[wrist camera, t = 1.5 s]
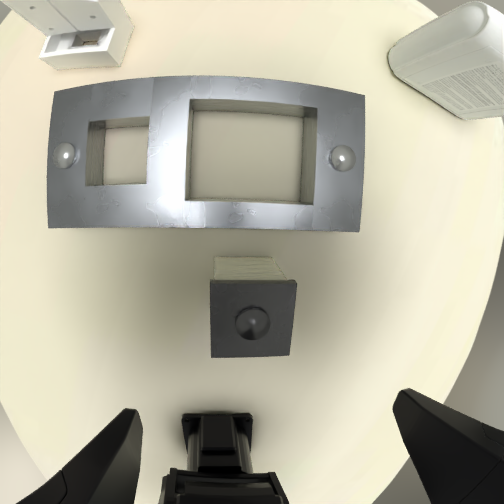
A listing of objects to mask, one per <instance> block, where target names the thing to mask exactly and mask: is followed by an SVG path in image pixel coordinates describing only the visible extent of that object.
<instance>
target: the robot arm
mask: <svg viewBox="0 0 504 504" xmlns="http://www.w3.org/2000/svg"><path fill="white" fill-rule="evenodd" d="M393 413H394V416H395V419H396V422H397V425H398V427H399V430H400V433H401V436H402V439H403V442H404V444H405V446H406V449H407V451H408V453H409V455H410V457H411V459H412V461H413V464H414V466H415V468H416V470H417V472H418V475H419V477H420V479H421V481H422V484H423V486H424V488H425V490H426V492H427V495H428V497H429V499H430V502H431V504H504V431H502V430H499V429H496V428H494V427H491V426H489V425H487V424H484V423H481V422H480V421H478V420H475V419H473V418H471V417H468V416H467V415H464V414H462V413H460V412H458V411H456V410H454V409H452V408H449V407H447V406H445V405H443V404H441V403H439V402H437V401H435V400H433V399H431V398H429V397H427V396H425V395H423V394H421V393H419V392H417V391H415V390H413V389H410V388H407V389H404V390H401V391H400V392H399V393H398V395H397V397H396V400H395V402H394V404H393ZM187 419H188V420H187ZM252 424H253V419H252V415H250V414H231V415H196V414H184V415H183V416H182V426H183V432H184V438H185V444H186V449H187V454H188V457H187V470H178V469H177V468H170V475H169V474H167V476H164V477H163V480H162V489H161V495H160V499H159V503H158V504H289V501H288V499H287V497H286V495H285V493H284V491H283V488H282V486H281V484H280V482H279V480H278V478H277V476H276V473H275V472H268V473H253V469H252V462H251V456H250V451H251V438H252ZM142 435H143V427H142V423H141V419H140V416H139V413H138V411H137V410H136V409H129V408H125V409H123V410H122V411H121V412H120V413H119V414H118V415H117V416H116V417H115V418H114V419H113V420H112V421H111V422H110V423H109V424H108V425H107V426H106V427H105V428H104V429H103V430H102V431H101V432H100V433H99V434H98V435H97V436H96V437H94V438H93V439H92V440H91V441H90V442H89V443H88V444H87V445H86V446H85V447H84V448H83V449H82V450H81V451H80V452H79V453H78V454H77V455H76V456H75V457H73V458H72V459H71V460H70V461H69V462H68V463H67V464H66V465H65V466H64V467H63V468H62V470H59V471H58V472H57V473H56V474H55V475H54V476H53V477H52V478H51V479H49V480H48V481H47V482H46V483H45V484H44V485H42V486H41V487H40V488H38V489H37V490H35V491H34V492H33V493H31V494H30V495H28V496H27V497H25V498H24V499H22V500H21V501H19V502H18V503H16V504H134V500H135V494H136V489H137V483H138V478H139V472H140V462H141V447H142Z"/></svg>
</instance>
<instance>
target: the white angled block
mask: <svg viewBox="0 0 504 504" xmlns="http://www.w3.org/2000/svg"><path fill="white" fill-rule="evenodd" d="M0 1H1V2H3V3H4V4H5V5H7V6H8V7H9V8H11V9H12V10H13V11H15V12H16V13H17V14H19V15H20V16H21V17H23V18H24V19H25V20H27V21H28V22H29V23H31V24H32V25H33V26H34V27H36V28H37V29H38V30H40V31H41V32H42V33H43V34H45V35H46V36H47V38H46V41H45V43H44V46H43V48H42V51H41V53H40V56H39V59H41V60H43V61H44V62H46V63H47V64H49V65H50V66H52V67H54V68H55V69H57V70H64V69H76V68H91V67H121V64H122V61H123V57H124V54H125V51H126V48H127V45H128V43H129V40H130V37H131V34H132V32H133V29H134V25H133V23H132V21H131V19H130V18H129V16H128V14H127V12H126V10H125V8H124V6H123V4H122V3H121V1H120V0H0ZM95 40H98V43H97V45H85V46H82V45H83V42H84V41H95Z"/></svg>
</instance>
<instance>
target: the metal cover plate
mask: <svg viewBox="0 0 504 504" xmlns="http://www.w3.org/2000/svg"><path fill="white" fill-rule="evenodd" d="M193 111H235V112H253V113H266V114H278V115H287V116H296V117H303V148H302V171H301V190H300V202H297V201H277V200H252V199H216V198H189V197H190V164H191V142H192V125H193ZM134 126H149V136H148V154H147V184H116V185H103V159H104V141H105V129H109V128H121V127H134ZM364 156H365V95H361V94H357V93H352V92H348V91H343V90H338V89H333V88H328V87H322V86H316V85H310V84H304V83H297V82H290V81H281V80H272V79H262V78H250V77H233V76H166V77H150V78H137V79H127V80H119V81H111V82H104V83H97V84H91V85H85V86H80V87H74V88H69V89H65V90H60V91H56V92H54V98H53V105H52V112H51V121H50V130H49V142H48V159H47V213H48V228H95V227H186V228H248V229H286V230H316V231H342V232H359V230H360V219H361V208H362V195H363V179H364Z"/></svg>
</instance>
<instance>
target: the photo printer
mask: <svg viewBox="0 0 504 504" xmlns="http://www.w3.org/2000/svg"><path fill="white" fill-rule="evenodd" d="M388 58H389V64H390V67H391V69H392V70H393V73H394V74H395V75H396V76H397V77H398V78H400V79H401V80H402V81H404V82H405V83H407V84H408V85H410V86H412V87H413V88H415V89H416V90H418V91H420V92H421V93H423V94H424V95H426V96H428V97H429V98H431V99H432V100H434V101H435V102H437V103H438V104H440V105H441V106H443V107H444V108H446V109H447V110H448V111H450V112H452V113H453V114H455V115H456V116H458V117H460V118H461V119H464V120H474V119H482V118H491V117H503V116H504V15H503V14H502V13H500V12H499V11H497V10H496V9H494V8H492V7H491V6H489V5H487V4H485V3H483V2H479V1H471V2H468V3H465V4H463V5H461V6H459V7H457V8H455V9H453V10H451V11H449V12H447V13H445V14H443V15H442V16H440V17H438V18H436V19H434V20H432V21H430V22H429V23H427V24H425V25H423V26H421V27H420V28H418V29H416V30H415V31H413V32H411V33H410V34H408V35H406V36H405V37H403V38H401V39H400V40H399V41H398V42H397V43H396V45H395V46H394V47H392V48H391V50H390V51H389V56H388Z"/></svg>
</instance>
